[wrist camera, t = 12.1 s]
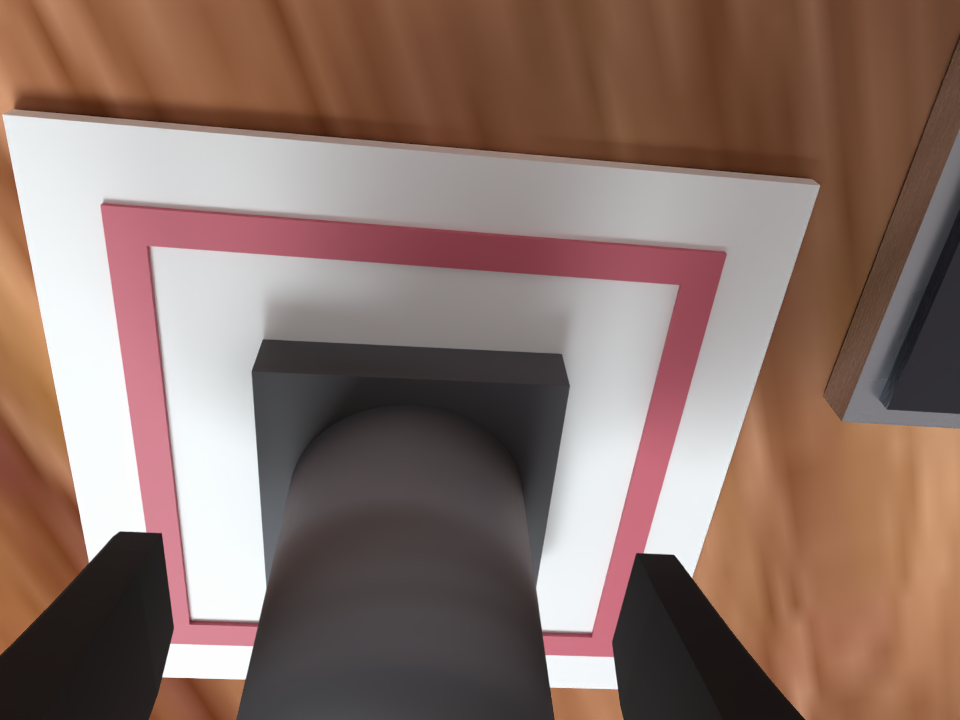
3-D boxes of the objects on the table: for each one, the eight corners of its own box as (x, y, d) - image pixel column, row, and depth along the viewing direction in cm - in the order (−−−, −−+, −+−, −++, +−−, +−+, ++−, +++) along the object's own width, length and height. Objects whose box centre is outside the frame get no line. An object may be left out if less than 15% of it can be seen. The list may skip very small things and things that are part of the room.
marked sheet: (652, 678, 19) (656, 693, 19) (115, 664, 18) (109, 679, 18) (812, 178, 13) (822, 187, 13) (11, 109, 12) (-1, 116, 12)
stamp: (528, 566, 17) (570, 882, 12) (275, 559, 16) (203, 884, 11) (562, 354, 14) (635, 637, 9) (263, 338, 14) (159, 629, 9)
